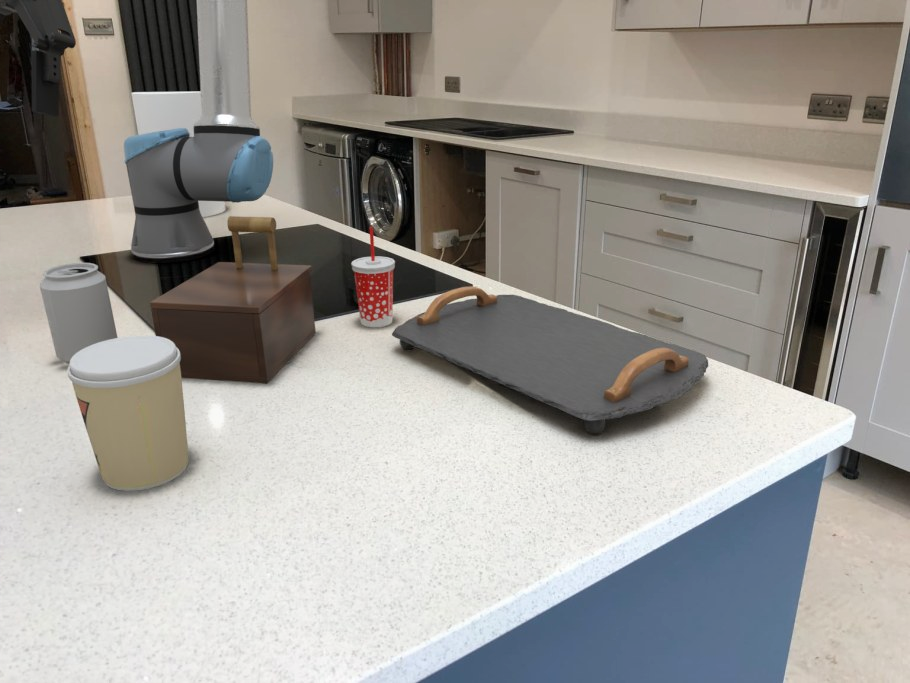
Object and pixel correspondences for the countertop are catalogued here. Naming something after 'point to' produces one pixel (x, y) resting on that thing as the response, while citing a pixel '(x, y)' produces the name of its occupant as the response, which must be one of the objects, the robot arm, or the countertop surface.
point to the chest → (240, 337)
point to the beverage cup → (374, 288)
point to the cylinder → (172, 122)
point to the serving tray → (554, 354)
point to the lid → (237, 278)
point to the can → (77, 308)
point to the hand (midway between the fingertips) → (6, 117)
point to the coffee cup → (133, 409)
